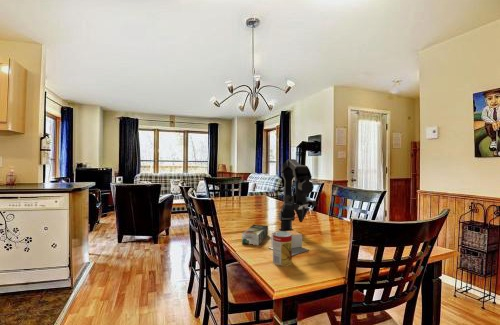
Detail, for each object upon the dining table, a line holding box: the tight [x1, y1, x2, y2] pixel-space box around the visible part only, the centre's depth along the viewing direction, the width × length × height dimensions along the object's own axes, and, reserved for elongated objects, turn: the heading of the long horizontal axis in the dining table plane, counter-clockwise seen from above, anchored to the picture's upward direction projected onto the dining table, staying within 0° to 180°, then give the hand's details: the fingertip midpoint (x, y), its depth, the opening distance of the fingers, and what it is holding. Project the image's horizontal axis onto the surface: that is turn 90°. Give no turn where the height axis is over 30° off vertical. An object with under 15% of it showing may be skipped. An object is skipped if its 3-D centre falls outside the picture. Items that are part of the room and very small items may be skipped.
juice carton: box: [240, 224, 269, 246], centre depth 142 cm, size 20×10×6 cm, turn 162°
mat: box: [268, 245, 310, 257], centre depth 126 cm, size 13×14×1 cm
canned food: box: [272, 230, 293, 267], centre depth 110 cm, size 8×8×12 cm
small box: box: [270, 229, 303, 248], centre depth 130 cm, size 8×6×13 cm
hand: (300, 222), depth 132 cm, fingers closed
